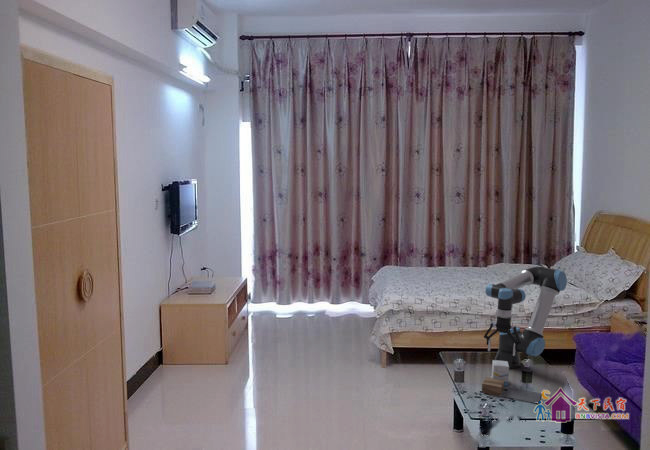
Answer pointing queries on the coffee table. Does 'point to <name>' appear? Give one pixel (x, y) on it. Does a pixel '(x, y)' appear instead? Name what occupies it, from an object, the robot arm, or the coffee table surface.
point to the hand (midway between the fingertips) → (501, 352)
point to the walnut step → (493, 386)
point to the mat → (522, 395)
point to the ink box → (500, 371)
